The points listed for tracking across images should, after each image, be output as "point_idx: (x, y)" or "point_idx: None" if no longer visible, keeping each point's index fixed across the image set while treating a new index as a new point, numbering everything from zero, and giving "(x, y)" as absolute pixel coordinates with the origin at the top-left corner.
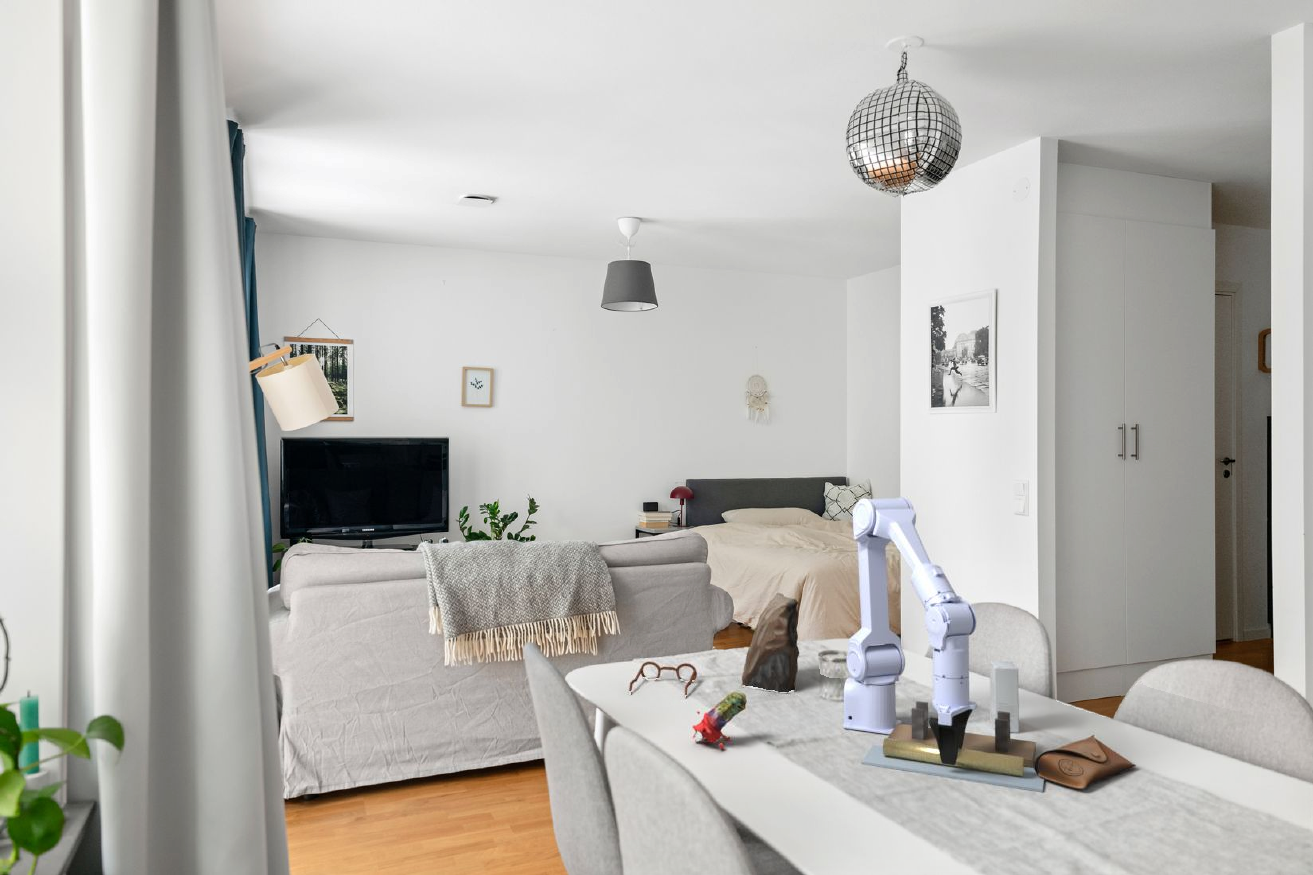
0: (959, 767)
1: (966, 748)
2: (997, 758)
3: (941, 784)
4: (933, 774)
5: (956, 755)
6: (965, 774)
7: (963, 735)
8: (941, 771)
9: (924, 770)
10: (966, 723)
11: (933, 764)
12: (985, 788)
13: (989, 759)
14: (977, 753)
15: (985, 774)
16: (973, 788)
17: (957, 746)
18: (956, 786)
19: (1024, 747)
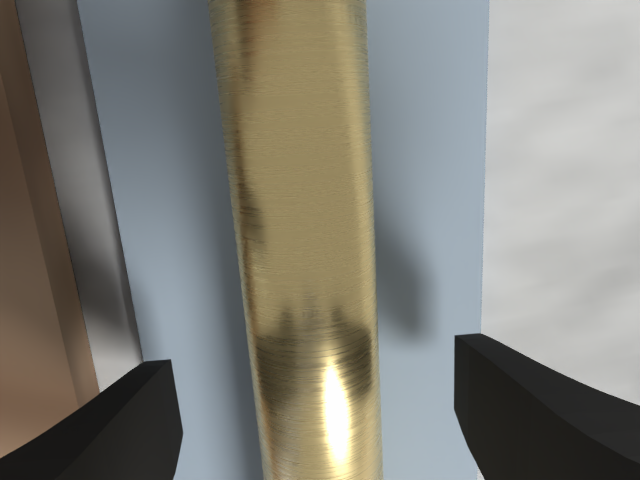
0: None
1: (8, 341)
2: (349, 55)
3: (596, 337)
4: None
5: (520, 355)
6: (428, 253)
7: (122, 412)
8: (443, 379)
9: (468, 455)
10: (55, 476)
11: None
12: (567, 106)
13: (359, 123)
14: (340, 228)
15: (372, 142)
16: (594, 171)
17: (591, 389)
18: (597, 262)
19: None
